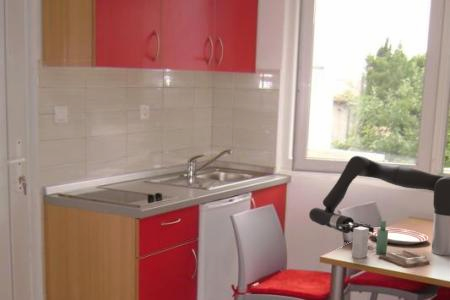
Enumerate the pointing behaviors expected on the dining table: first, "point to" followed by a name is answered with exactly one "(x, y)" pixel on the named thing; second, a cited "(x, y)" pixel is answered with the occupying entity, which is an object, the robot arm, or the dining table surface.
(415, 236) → the dinner plate
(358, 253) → the skincare box
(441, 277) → the dining table surface
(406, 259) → the bottle holder
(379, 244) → the green bottle
